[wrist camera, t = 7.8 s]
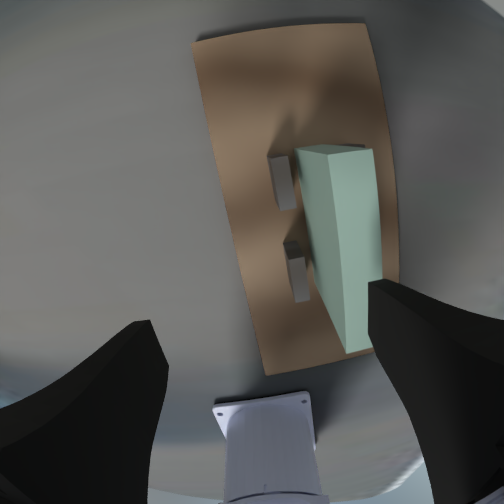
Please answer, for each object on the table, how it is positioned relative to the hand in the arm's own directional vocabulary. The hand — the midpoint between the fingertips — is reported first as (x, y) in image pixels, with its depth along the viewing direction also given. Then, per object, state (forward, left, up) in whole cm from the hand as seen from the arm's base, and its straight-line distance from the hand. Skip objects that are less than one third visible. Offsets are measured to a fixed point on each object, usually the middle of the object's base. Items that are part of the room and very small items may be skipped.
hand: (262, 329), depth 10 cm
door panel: (+1, -4, -9) cm, 9 cm away
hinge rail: (+1, -4, -9) cm, 10 cm away
